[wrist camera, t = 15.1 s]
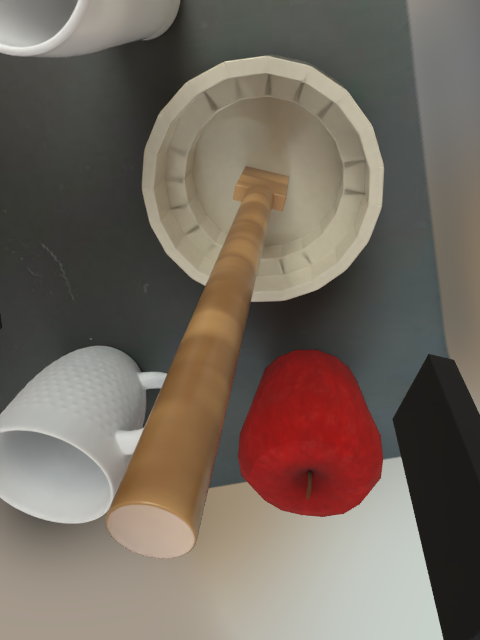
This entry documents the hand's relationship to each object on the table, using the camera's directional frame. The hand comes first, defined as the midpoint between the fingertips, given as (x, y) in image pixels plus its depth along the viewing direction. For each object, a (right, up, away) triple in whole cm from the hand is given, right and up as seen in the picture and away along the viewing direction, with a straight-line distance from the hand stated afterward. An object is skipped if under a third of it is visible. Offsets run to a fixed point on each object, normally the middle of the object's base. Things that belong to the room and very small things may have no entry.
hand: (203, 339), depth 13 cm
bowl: (+3, +11, +18) cm, 22 cm away
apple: (+8, -4, +28) cm, 29 cm away
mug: (-11, -4, +31) cm, 33 cm away
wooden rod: (+3, +11, +18) cm, 21 cm away
